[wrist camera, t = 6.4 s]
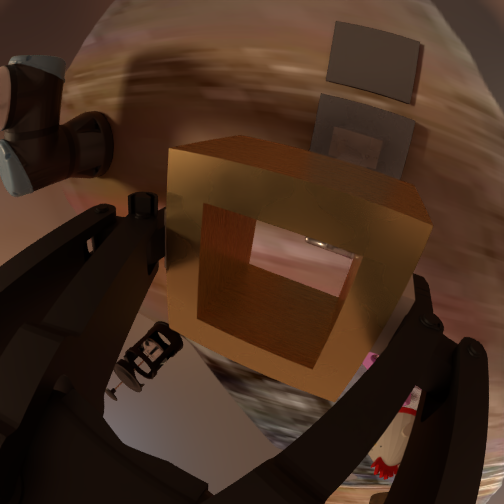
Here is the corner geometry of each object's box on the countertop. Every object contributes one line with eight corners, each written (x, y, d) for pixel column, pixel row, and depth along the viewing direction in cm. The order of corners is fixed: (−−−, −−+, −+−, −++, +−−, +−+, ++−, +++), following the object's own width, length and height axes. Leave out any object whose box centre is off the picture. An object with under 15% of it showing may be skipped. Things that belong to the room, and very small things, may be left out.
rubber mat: (326, 81, 31) (325, 80, 31) (336, 22, 26) (335, 20, 26) (409, 104, 28) (409, 103, 27) (419, 43, 23) (419, 41, 23)
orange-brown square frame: (222, 276, 17) (169, 327, 13) (240, 135, 12) (168, 148, 8) (354, 328, 14) (334, 402, 10) (414, 185, 10) (433, 225, 6)
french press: (176, 323, 65) (111, 386, 47) (190, 352, 68) (133, 416, 50) (145, 318, 71) (84, 372, 52) (159, 346, 74) (105, 400, 55)
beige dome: (399, 398, 47) (389, 460, 35) (433, 421, 46) (428, 477, 34) (354, 421, 55) (338, 474, 43) (390, 441, 54) (378, 491, 42)
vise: (296, 224, 42) (249, 277, 29) (323, 94, 32) (284, 77, 19) (373, 251, 38) (362, 321, 25) (413, 121, 28) (437, 118, 16)
